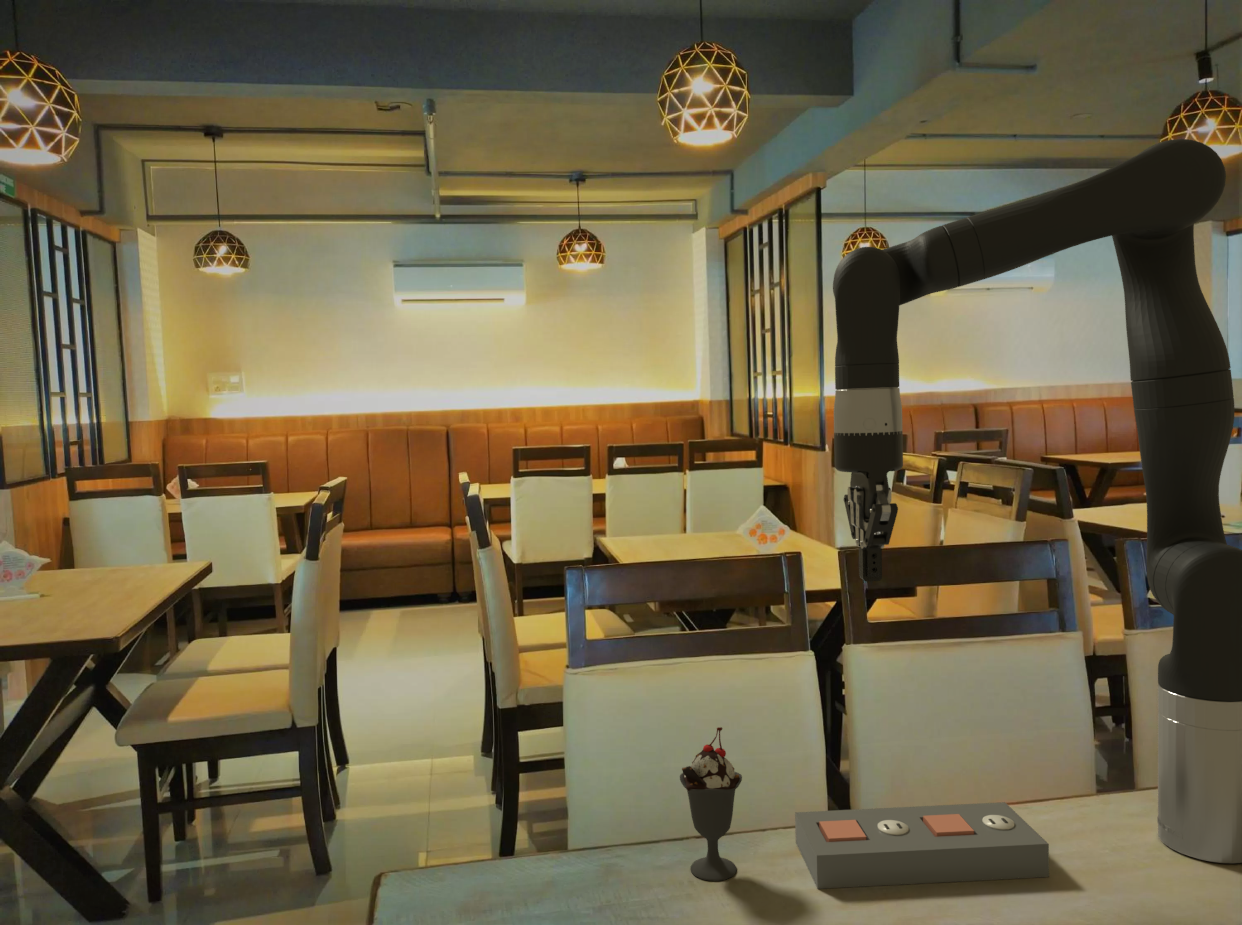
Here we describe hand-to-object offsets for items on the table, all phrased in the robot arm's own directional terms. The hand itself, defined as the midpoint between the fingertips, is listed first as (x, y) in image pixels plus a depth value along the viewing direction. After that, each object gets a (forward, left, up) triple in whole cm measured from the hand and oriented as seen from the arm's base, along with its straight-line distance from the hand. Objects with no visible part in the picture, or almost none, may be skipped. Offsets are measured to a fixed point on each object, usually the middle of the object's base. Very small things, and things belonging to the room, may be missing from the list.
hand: (870, 579), depth 106 cm
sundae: (+20, +8, -29) cm, 36 cm away
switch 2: (-6, +8, -28) cm, 29 cm away
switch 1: (+6, +8, -28) cm, 30 cm away
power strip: (-2, +8, -29) cm, 30 cm away
